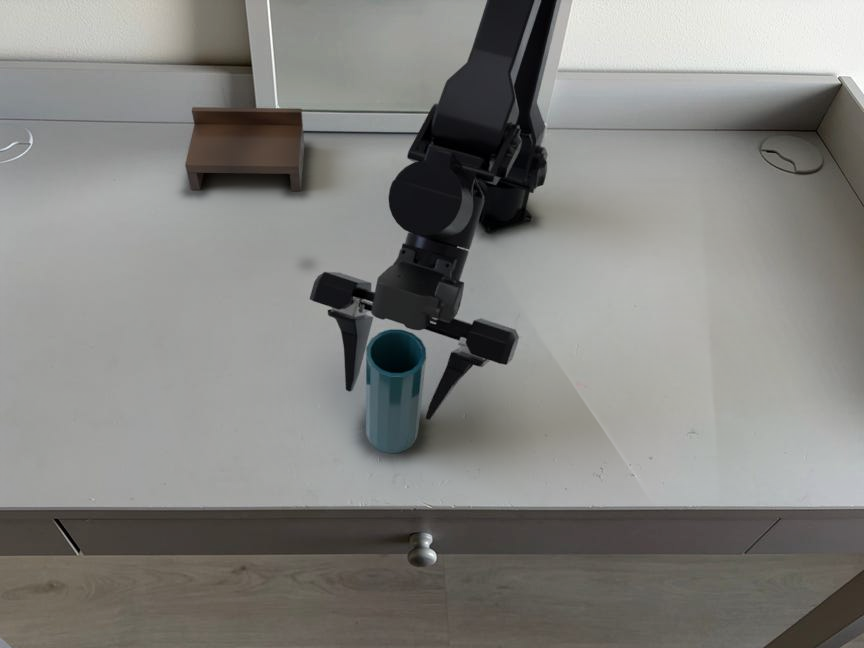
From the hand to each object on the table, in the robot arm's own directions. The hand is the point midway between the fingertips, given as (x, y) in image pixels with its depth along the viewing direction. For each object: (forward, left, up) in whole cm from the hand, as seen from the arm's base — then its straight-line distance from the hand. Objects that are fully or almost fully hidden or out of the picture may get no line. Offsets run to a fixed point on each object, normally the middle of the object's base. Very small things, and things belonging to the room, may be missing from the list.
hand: (388, 404), depth 72 cm
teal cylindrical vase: (-1, -1, -7) cm, 7 cm away
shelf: (+1, -45, -7) cm, 46 cm away
